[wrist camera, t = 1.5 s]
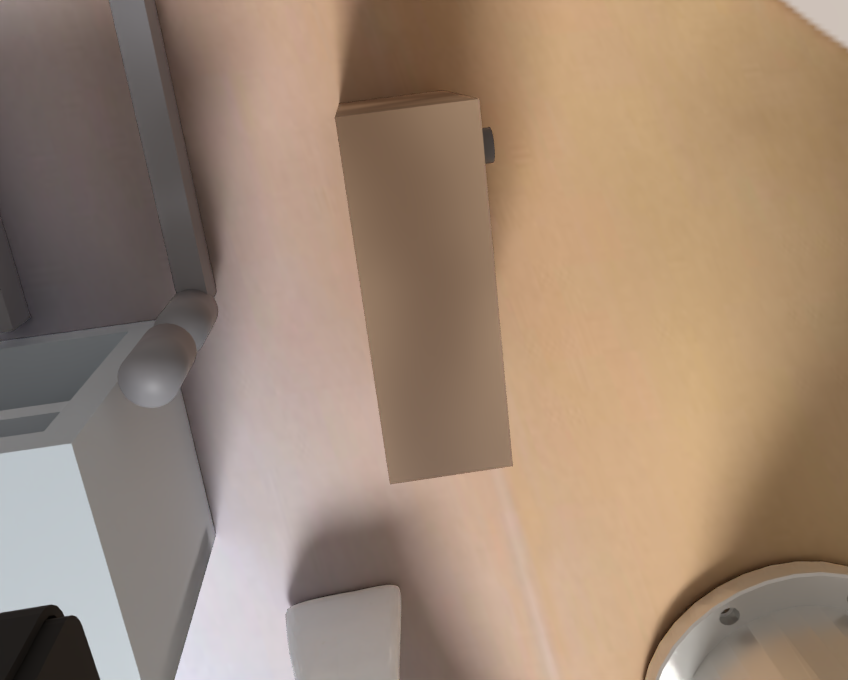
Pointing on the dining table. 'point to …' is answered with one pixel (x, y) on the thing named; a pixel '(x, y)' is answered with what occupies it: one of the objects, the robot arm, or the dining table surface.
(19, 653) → the robot arm
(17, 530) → the cabinet
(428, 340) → the door
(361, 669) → the spoon rest
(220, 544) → the dining table surface
